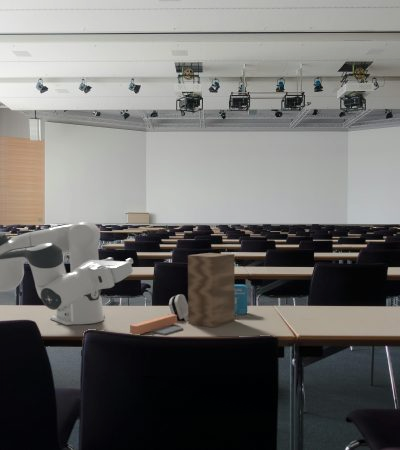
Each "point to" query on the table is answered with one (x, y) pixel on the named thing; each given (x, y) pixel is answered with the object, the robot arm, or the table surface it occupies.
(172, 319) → the pin
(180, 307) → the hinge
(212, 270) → the brown block
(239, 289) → the data package
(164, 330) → the mat
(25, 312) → the table surface
